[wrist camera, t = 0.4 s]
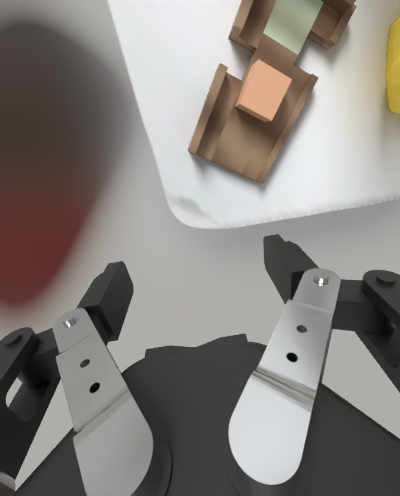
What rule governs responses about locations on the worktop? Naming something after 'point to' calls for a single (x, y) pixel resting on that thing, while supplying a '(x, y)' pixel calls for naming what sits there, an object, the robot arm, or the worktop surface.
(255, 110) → the block
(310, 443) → the robot arm
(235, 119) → the box
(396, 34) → the teapot
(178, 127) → the worktop surface
